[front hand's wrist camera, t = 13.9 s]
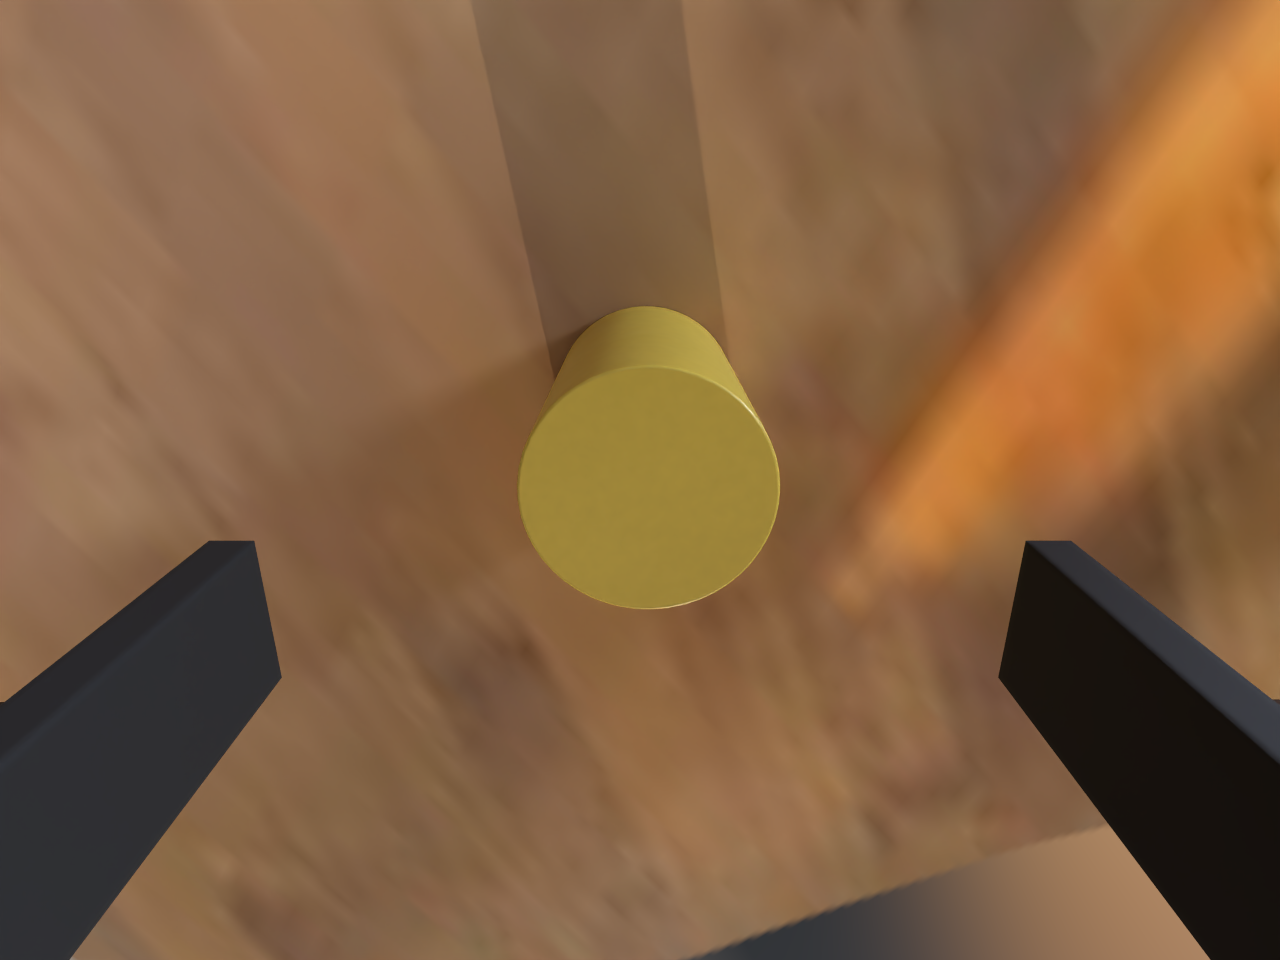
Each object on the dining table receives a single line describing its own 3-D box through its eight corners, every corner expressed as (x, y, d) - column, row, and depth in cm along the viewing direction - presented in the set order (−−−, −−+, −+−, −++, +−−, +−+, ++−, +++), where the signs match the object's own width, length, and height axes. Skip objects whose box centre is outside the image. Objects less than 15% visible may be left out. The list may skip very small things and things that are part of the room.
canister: (623, 268, 26) (613, 309, 16) (768, 373, 27) (835, 464, 18) (525, 415, 28) (467, 525, 18) (666, 506, 29) (678, 652, 20)
